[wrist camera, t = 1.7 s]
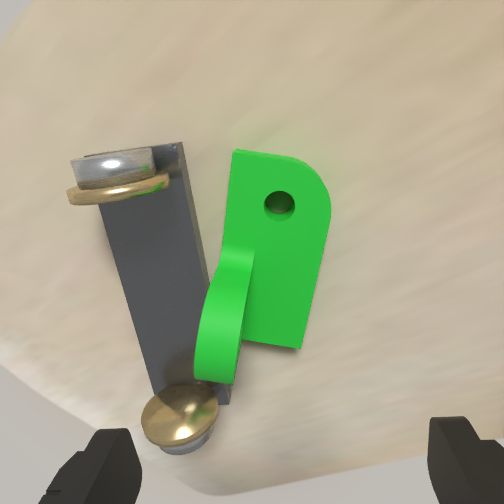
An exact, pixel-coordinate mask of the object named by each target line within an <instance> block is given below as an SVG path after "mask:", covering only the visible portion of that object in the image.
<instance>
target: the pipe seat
mask: <svg viewBox="0 0 504 504" xmlns="http://www.w3.org/2000/svg"><path fill="white" fill-rule="evenodd" d="M70 162H71V165H72V168H73V172H74V175H75V178H76V181H77V185H78V186H75V187H73V188H70V189H68V190H67V191H66V193H67V196H68V199H69V202H70V204H72V205H94V204H98V205H99V208H100V212H101V215H102V218H103V222H104V225H105V229H106V232H107V235H108V239H109V242H110V246H111V249H112V252H113V256H114V259H115V263H116V266H117V269H118V273H119V276H120V279H121V283H122V286H123V290H124V293H125V296H126V300H127V303H128V307H129V310H130V313H131V317H132V320H133V324H134V327H135V330H136V334H137V337H138V341H139V344H140V347H141V351H142V354H143V357H144V361H145V364H146V368H147V371H148V374H149V378H150V381H151V385H152V388H153V391H154V395H155V396H154V397H152V398H151V400H150V401H149V402H148V403H147V405H146V406H145V408H144V410H143V413H142V416H141V424H142V427H143V430H144V434H145V436H146V438H147V439H148V440H149V441H150V442H151V443H153V444H155V445H157V446H159V447H160V448H161V450H163V451H164V452H166V453H168V454H171V455H183V454H187V453H190V452H193V451H195V450H196V449H198V448H199V447H201V446H202V445H203V444H204V443H205V442H206V441H207V440H208V439H209V437H210V436H211V433H212V431H213V426H214V422H215V420H216V418H217V415H218V411H219V405H225V404H229V401H230V396H231V389H230V384H224V383H218V382H212V381H206V380H200V379H195V377H194V358H195V349H196V342H197V336H198V330H199V325H200V320H201V315H202V311H203V307H204V303H205V299H206V296H207V292H208V289H209V286H210V282H209V277H208V272H207V267H206V262H205V257H204V252H203V247H202V242H201V237H200V232H199V227H198V221H197V216H196V211H195V206H194V201H193V196H192V191H191V186H190V181H189V176H188V171H187V166H186V160H185V155H184V150H183V145H182V142H178V143H170V144H163V145H156V146H149V147H142V148H135V149H127V150H120V151H113V152H106V153H99V154H92V155H88V156H84V158H79V159H75V160H71V161H70Z"/></svg>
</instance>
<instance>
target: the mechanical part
mask: <svg viewBox="0 0 504 504" xmlns="http://www.w3.org/2000/svg"><path fill="white" fill-rule="evenodd" d="M275 191H284V192H287V193H288V194H290V195H291V196H292V198H293V199H294V204H293V206H292V207H291V209H290V210H288V211H287V212H285V213H275V212H273V211H271V210H270V209H269V208H268V207H267V205H266V202H265V199H266V197H267V196H268V195H269V194H271V193H272V192H275ZM330 219H331V202H330V197H329V194H328V191H327V189H326V187H325V185H324V183H323V182H322V180H321V178H320V177H319V175H318V174H317V173H316V172H315V170H313V169H312V168H311V167H310V166H309V165H307V164H306V163H304V162H303V161H300V160H298V159H295V158H292V157H288V156H281V155H274V154H268V153H261V152H254V151H248V150H241V149H236V150H235V151H233V154H232V163H231V172H230V181H229V190H228V199H227V208H226V217H225V226H224V235H223V244H222V251H221V256H220V261H219V265H218V268H217V270H216V272H215V275H214V277H213V279H212V282H211V284H210V286H209V289H208V292H207V296H206V299H205V303H204V307H203V311H202V315H201V320H200V325H199V330H198V336H197V342H196V349H195V358H194V377H195V379H200V380H206V381H212V382H218V383H224V384H230V385H233V382H234V378H235V373H236V367H237V362H238V357H239V351H240V346H241V341H242V339H243V340H249V341H255V342H261V343H267V344H273V345H279V346H285V347H291V348H297V349H301V346H302V342H303V337H304V333H305V329H306V324H307V320H308V316H309V311H310V307H311V302H312V298H313V294H314V289H315V285H316V280H317V276H318V272H319V267H320V263H321V259H322V254H323V250H324V245H325V241H326V237H327V232H328V228H329V224H330Z"/></svg>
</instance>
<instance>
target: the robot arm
mask: <svg viewBox="0 0 504 504" xmlns="http://www.w3.org/2000/svg"><path fill="white" fill-rule="evenodd" d="M427 462H428V470H429V475H430V479H431V483H432V486H433V489H434V491H435V493H436V496H437V499H438V501H439V503H440V504H504V448H503V447H502V446H501V445H500V444H499V443H498V442H497V441H495V440H480V438H479V437H478V435H477V434H476V432H475V430H474V429H473V427H472V425H471V424H470V422H469V421H468V420H467V418H465V417H464V416H456V417H432V418H431V419H430V425H429V441H428V457H427ZM141 481H142V468H141V464H140V461H139V458H138V455H137V452H136V449H135V446H134V443H133V440H132V437H131V434H130V432H129V430H128V429H126V428H117V429H99V430H98V431H96V432H95V434H94V435H93V437H92V438H91V440H90V442H89V444H88V446H87V447H86V449H85V451H77V452H76V454H74V455H73V456H72V457H71V458H70V459H69V460H68V461H67V462H66V463H65V464H64V465H63V466H62V467H61V468H60V469H59V471H58V473H57V474H56V476H55V477H54V479H53V481H52V482H51V484H50V485H49V487H48V489H47V490H46V494H45V495H43V497H42V498H41V500H40V502H39V503H38V504H135V502H136V499H137V496H138V494H139V491H140V487H141Z"/></svg>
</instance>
